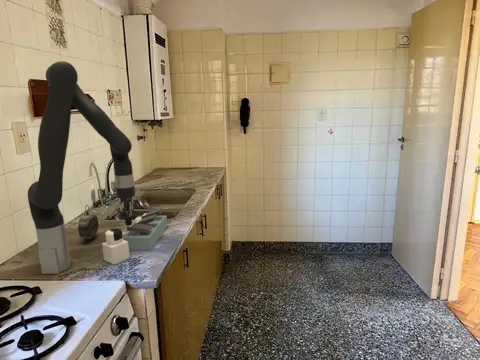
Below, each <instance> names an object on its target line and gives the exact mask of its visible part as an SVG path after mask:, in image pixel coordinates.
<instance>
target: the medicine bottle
mask: <svg viewBox="0 0 480 360" xmlns="http://www.w3.org/2000/svg"><path fill="white" fill-rule="evenodd" d="M122 232H123V230H122V229H121V228H110V229H108V230H106V231H105V232H104V234H105V242H102V243H101V245H102V246H101V247H102V254H103V255H102V256H103V260H104V261H106V262H108V263H109V264H112V265H117V264H119V263H121V262H124V261H126V260H129V259H130V258H131V257H130V250H129V246H128V241H125V240H123V236H122Z"/></svg>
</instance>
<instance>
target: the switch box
mask: <svg viewBox="0 0 480 360" xmlns="http://www.w3.org/2000/svg"><path fill="white" fill-rule="evenodd" d="M142 216H143V215H138V216H137V217H136V218H135V219H134V220H133V221H132V223H136V222H137V221H138V220H140V219H142V218H141V217H142ZM145 225H152V229H151V230H150V232H149V233H142V232H134V231H127V227H126V228H124V229H123V230H122V236H123V240H125V241H128V246H129V251H151V250H153V248H154V246H155V245H156V244H157V242H158V241H159V240H160V238H161V236H162V235H163V234H164V232H165V230H166V229H167V228H168V216H167V215H157V218H156V220H155V221H153V222H150V223H147V224H145Z"/></svg>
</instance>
